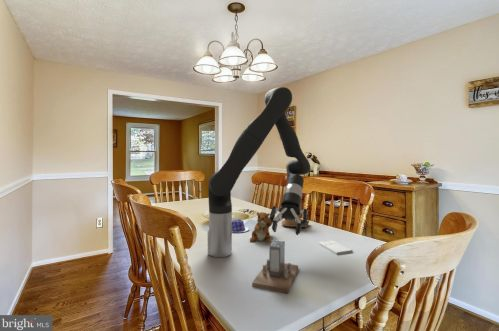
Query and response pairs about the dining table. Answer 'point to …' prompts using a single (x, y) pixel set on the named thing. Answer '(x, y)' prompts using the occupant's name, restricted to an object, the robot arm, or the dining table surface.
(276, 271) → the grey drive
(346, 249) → the external hard drive
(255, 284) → the wooden peg stand
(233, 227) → the pudding
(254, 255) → the dining table surface
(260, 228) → the stuffed squirrel
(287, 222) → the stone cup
